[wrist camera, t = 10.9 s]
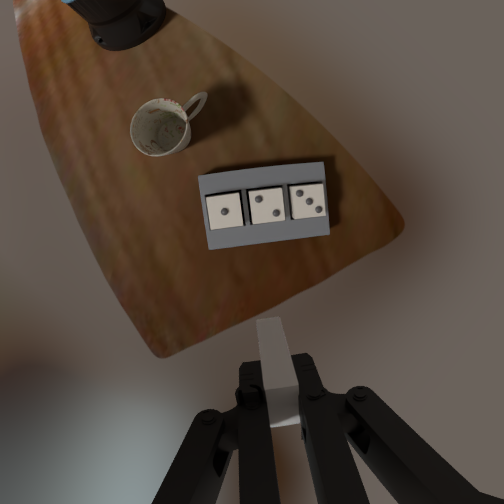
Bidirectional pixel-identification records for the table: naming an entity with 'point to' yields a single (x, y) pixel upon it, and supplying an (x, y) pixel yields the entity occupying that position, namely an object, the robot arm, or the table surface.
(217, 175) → the board
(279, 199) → the white die
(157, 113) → the mug
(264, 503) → the robot arm
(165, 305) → the table surface
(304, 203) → the white block with dots
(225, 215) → the white block
